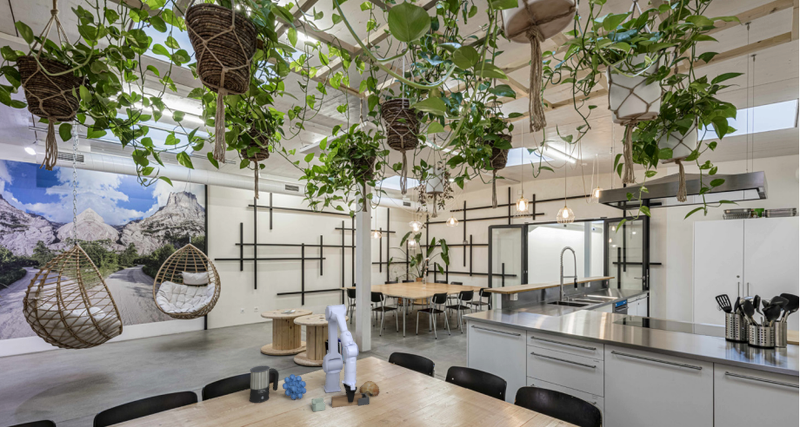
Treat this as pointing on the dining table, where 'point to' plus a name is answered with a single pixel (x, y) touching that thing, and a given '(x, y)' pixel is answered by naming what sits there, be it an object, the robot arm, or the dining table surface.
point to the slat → (344, 400)
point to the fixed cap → (363, 399)
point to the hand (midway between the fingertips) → (349, 400)
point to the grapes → (294, 386)
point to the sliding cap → (318, 404)
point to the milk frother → (262, 383)
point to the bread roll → (370, 389)
